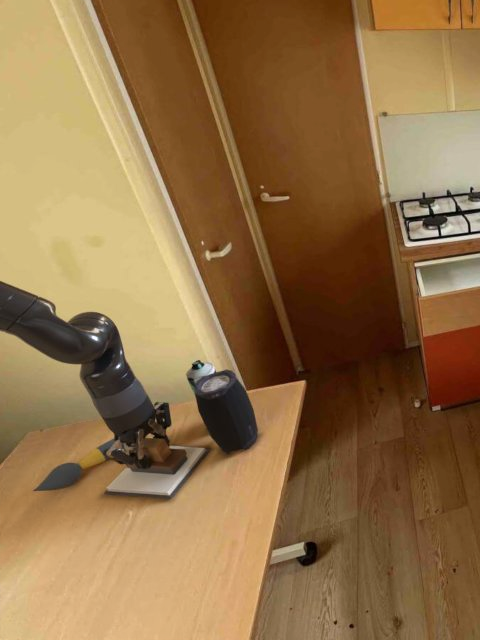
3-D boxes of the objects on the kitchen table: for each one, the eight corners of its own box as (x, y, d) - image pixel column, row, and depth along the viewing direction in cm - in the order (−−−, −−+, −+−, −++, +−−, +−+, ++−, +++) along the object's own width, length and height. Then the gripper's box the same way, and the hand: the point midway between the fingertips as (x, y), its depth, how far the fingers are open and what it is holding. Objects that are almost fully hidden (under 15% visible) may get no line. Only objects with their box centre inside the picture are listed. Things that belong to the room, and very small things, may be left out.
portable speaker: (211, 447, 101) (181, 386, 92) (250, 420, 108) (226, 361, 99) (230, 464, 97) (201, 402, 88) (269, 435, 104) (246, 375, 95)
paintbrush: (138, 426, 106) (130, 412, 103) (151, 433, 104) (143, 419, 102) (36, 497, 90) (23, 482, 87) (49, 506, 88) (37, 491, 86)
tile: (104, 494, 90) (101, 490, 90) (150, 446, 101) (148, 442, 100) (170, 499, 89) (167, 495, 89) (210, 450, 100) (208, 446, 99)
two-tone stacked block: (174, 475, 92) (161, 453, 89) (130, 472, 93) (115, 449, 90) (189, 458, 96) (177, 435, 93) (147, 455, 97) (133, 432, 94)
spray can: (230, 429, 105) (203, 369, 96) (206, 432, 104) (176, 371, 95) (239, 412, 110) (214, 353, 101) (216, 415, 109) (189, 355, 100)
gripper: (136, 375, 92) (165, 429, 100) (70, 429, 80) (110, 486, 87) (168, 377, 92) (195, 431, 100) (107, 432, 79) (144, 489, 87)
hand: (155, 457), depth 94 cm, fingers closed on two-tone stacked block, 4 cm apart
